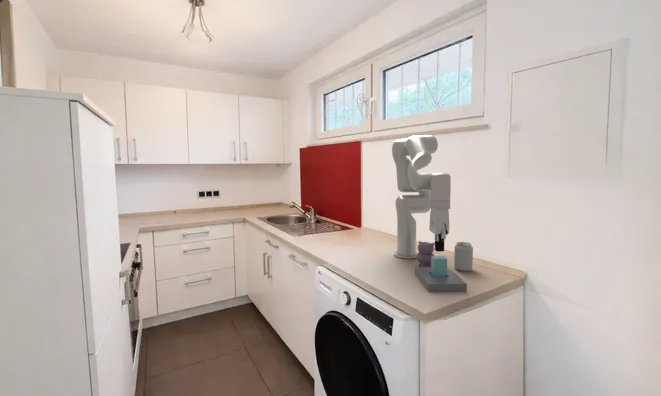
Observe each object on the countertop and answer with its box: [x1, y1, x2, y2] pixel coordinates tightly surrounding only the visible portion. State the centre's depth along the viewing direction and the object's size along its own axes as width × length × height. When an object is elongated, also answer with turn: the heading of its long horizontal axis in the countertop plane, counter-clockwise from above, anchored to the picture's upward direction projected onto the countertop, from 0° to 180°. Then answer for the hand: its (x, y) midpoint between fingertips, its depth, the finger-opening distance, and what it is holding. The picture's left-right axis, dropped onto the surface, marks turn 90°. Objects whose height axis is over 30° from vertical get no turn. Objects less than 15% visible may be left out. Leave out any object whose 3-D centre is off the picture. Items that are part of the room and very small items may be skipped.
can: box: [453, 241, 474, 272], centre depth 141 cm, size 8×8×12 cm
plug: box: [431, 255, 448, 277], centre depth 126 cm, size 4×5×10 cm
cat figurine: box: [415, 240, 435, 267], centre depth 144 cm, size 8×8×12 cm
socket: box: [414, 266, 468, 293], centre depth 126 cm, size 20×14×4 cm
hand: (439, 250), depth 125 cm, fingers closed
